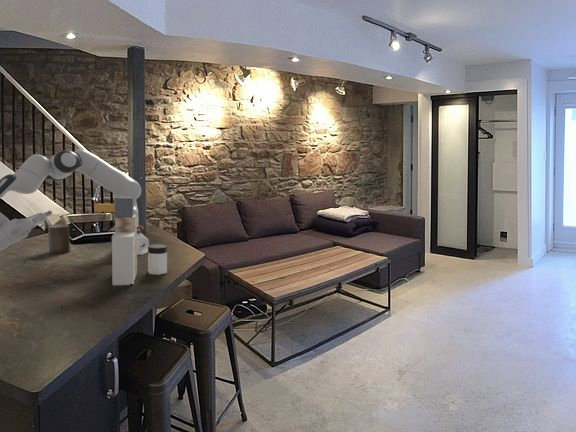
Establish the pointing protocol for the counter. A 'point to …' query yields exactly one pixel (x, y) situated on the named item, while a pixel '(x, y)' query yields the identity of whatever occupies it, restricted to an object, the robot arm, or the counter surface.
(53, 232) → the pillar candle
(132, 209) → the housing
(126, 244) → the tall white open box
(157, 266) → the jar
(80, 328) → the counter surface
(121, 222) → the tall pedestal
